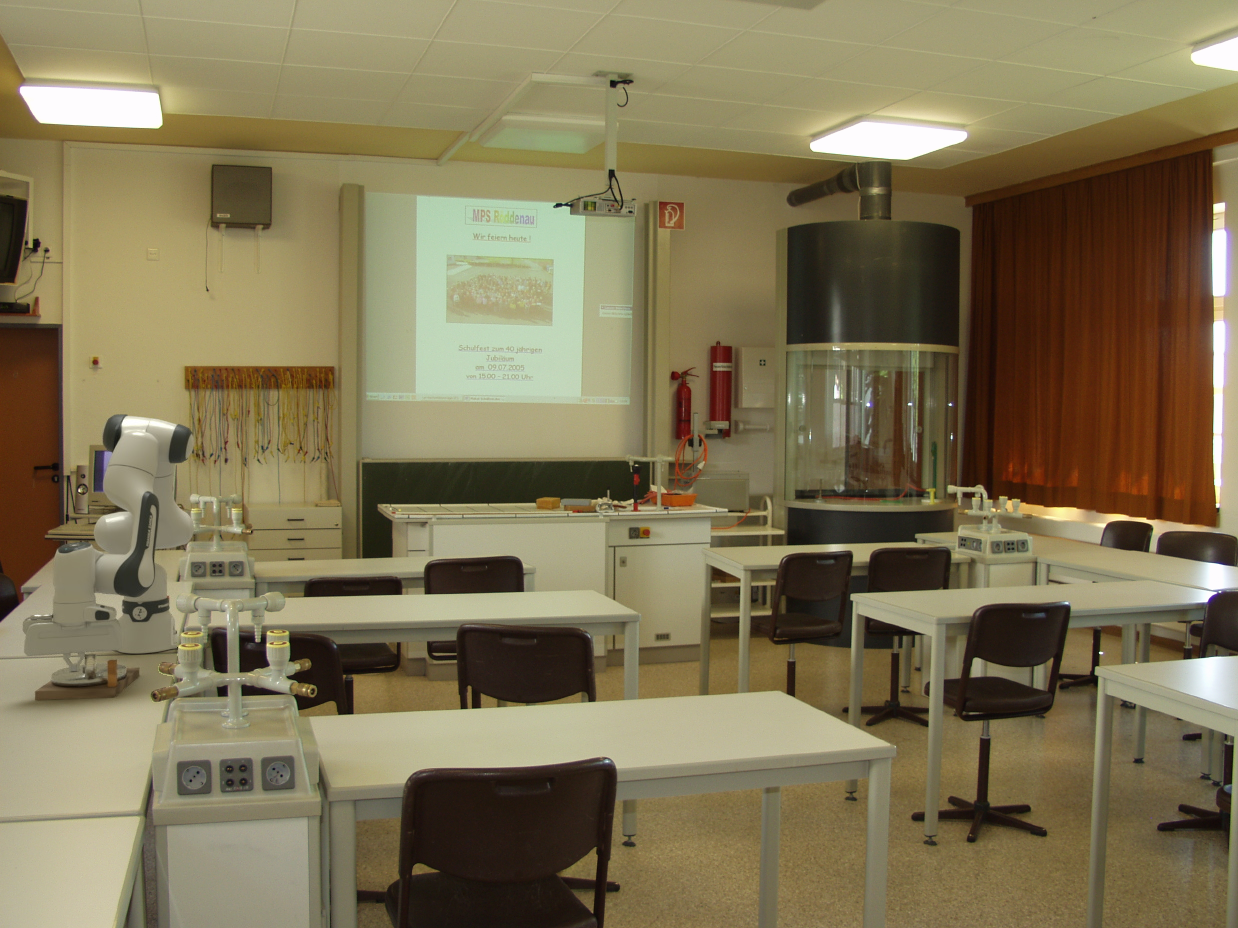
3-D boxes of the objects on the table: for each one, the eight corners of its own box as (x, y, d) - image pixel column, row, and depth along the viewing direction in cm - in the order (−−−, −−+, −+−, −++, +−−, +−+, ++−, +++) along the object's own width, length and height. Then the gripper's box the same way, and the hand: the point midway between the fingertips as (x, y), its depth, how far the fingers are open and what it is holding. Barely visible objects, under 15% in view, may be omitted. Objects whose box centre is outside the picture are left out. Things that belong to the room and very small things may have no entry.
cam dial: (51, 673, 246) (51, 644, 246) (124, 666, 254) (124, 638, 254) (51, 689, 232) (51, 658, 232) (128, 681, 240) (128, 651, 239)
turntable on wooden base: (66, 677, 251) (66, 645, 251) (139, 675, 254) (139, 644, 254) (35, 699, 232) (34, 665, 231) (114, 697, 235) (114, 663, 234)
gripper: (21, 617, 227) (21, 678, 228) (122, 612, 236) (122, 670, 237) (24, 613, 233) (24, 672, 233) (122, 608, 242) (122, 665, 242)
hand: (74, 671), depth 235 cm, fingers closed
